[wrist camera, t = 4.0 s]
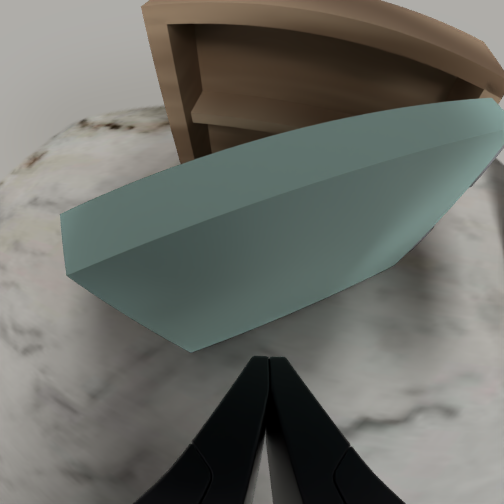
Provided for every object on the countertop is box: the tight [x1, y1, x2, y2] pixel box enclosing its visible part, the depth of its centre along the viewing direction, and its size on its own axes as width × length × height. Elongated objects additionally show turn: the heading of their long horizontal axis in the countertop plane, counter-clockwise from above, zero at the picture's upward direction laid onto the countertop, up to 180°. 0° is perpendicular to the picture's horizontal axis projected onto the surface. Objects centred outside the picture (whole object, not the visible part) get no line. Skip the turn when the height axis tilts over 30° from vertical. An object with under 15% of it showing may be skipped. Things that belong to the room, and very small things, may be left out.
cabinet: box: [141, 0, 504, 164], centre depth 13 cm, size 3×12×12 cm, turn 77°
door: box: [60, 98, 504, 353], centre depth 10 cm, size 1×12×11 cm, turn 113°
